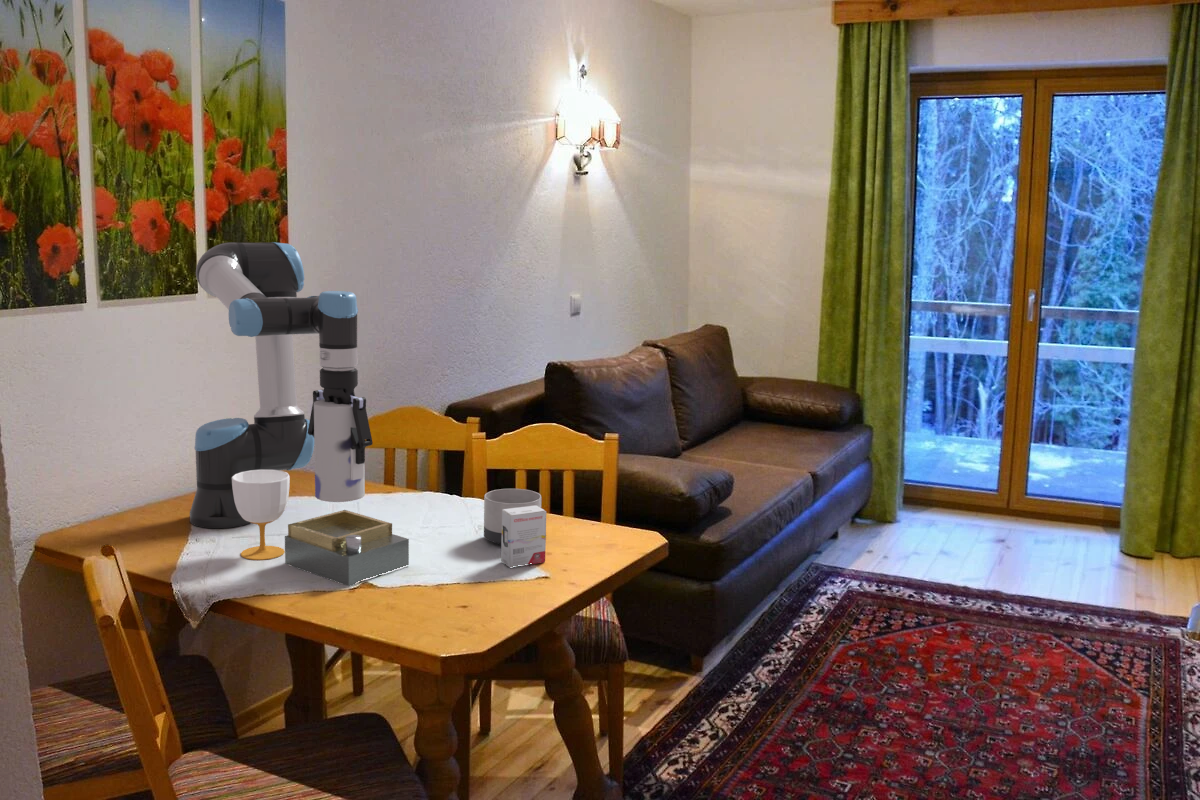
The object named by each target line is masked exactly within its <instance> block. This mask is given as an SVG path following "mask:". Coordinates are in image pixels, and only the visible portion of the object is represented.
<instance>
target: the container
mask: <svg viewBox="0 0 1200 800" xmlns="http://www.w3.org/2000/svg"><path fill="white" fill-rule="evenodd" d="M351 428H356V425H355V420H354V415H353V407H352V406H351V403H350V404H349V405H346V404H335V403H334V402H325V400H324V399H322V400H318V401H315V402H314V450H313V451H314V498H316V499H317V500H319V501H321V502H327V503H328V502H329V503H344V502H345V503H346V502H347V503H348V502H354V501H357V500H360V499H363V498H364V497H365V495H366V493H365V490H366V489H365V488H366V487H365V486H366V482H365V479H366V478H365V472H366V471H365V467H364V478H361V479H357V480H351V447H353V444H352V441H351V439H350V438H351ZM358 442H359V440H358ZM363 465H364V466H365V462H364V463H363Z"/></svg>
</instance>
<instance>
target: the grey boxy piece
mask: <svg viewBox="0 0 1200 800" xmlns="http://www.w3.org/2000/svg"><path fill="white" fill-rule="evenodd" d="M287 531H288V532H287V535H284V551H285V552H284V560H285V561H284V562H285V563H284V564H285V565H287V566H290V567H293V568H296V569H299V570H302V571H304V570H305V571H304V572H307V571H308V573H310V572H311V573H310V574H312V575H316V576H318V575H319V576H318V577H321V576H322V578H324V577H325V579H327V578H328V580H330V579H331V580H330V581H332V582H333V581H334V582H335V581H336V583H338V582H339V584H341V585H344V586H348V587H351V586H354V585H356V584H355V583H356V582H358V581H361V580H363V579H366V578H370V577H373V576H376V575H379V574H382V573H386V572H388V571H392V570H394V569H397V568H400V567H403V566H406V565H409V564H410V562H409V560H410V559H409V558H410V555H409V553H410V547H409V546H410V545H409V543H410V542H409V541H410V539H409V538H407V537H404V536H401V535H397V534H393V523H392V522H388V521H386V520H380V519H378V518H374V517H370V516H367V515H364V514H360V513H358V512H353V511H350V510H347V509H343V510H338V511H336V512H331V513H328V514H327V513H326V514H324V515H320V516H315V517H312V518H307V519H304V520H301V521H296V522H293V523H290V524H289V523H288V524H287ZM353 584H354V585H353Z"/></svg>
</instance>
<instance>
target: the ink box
mask: <svg viewBox="0 0 1200 800" xmlns="http://www.w3.org/2000/svg"><path fill="white" fill-rule="evenodd" d="M546 536H547V511H546V510H545V509H544V508H542V507H541V508H540V507H538V506H537V505H535V506H527V507H518V508H510V509H502V538H501V545H500V547H501V548H500V552H501V554H500V561H501V563H502V564H504V563H505V564H506V565H505V564H504V565H505V566H507V567H508V566H509V567H513V566H518V565H525V564H530V563H532V565H536V564H541V563H545V562H546V546H547V544H546V540H547V537H546ZM509 567H508V568H509Z"/></svg>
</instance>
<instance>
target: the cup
mask: <svg viewBox="0 0 1200 800" xmlns="http://www.w3.org/2000/svg"><path fill="white" fill-rule="evenodd" d="M290 478H291V476H290V474H289V473H288V472H286V471H284V470H280V471H279V470H250V471H245V472H240V473H238V474H235V475H234V476H233V477H232V489H233V495H234V502H235V505H236V508H237V511H238V512H239V514H240V515H241V517H242V518H243V519H244V520H246V521H248V522H251V523H250V524H254V525H258V527H259V546H252V547H248V548H245V549H243V550H242V551H241V552H240V556H241V558H244V559H246V560H251V561H266V560H268V561H269V560H273V559H277V558H279V557H282V556H283V555H285V548H282V547H280V546H276V545H266V538H265V537H266V535H265V534H266V532H265V531H266V525H268V524H271V523H273V522H275V521H277V520H279V518H281V517H282V515H283V513H284V512H285V511H286V509H287V505H288V502H289V496H290V493H289V492H290V484H291V483H290ZM281 555H282V556H281Z"/></svg>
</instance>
